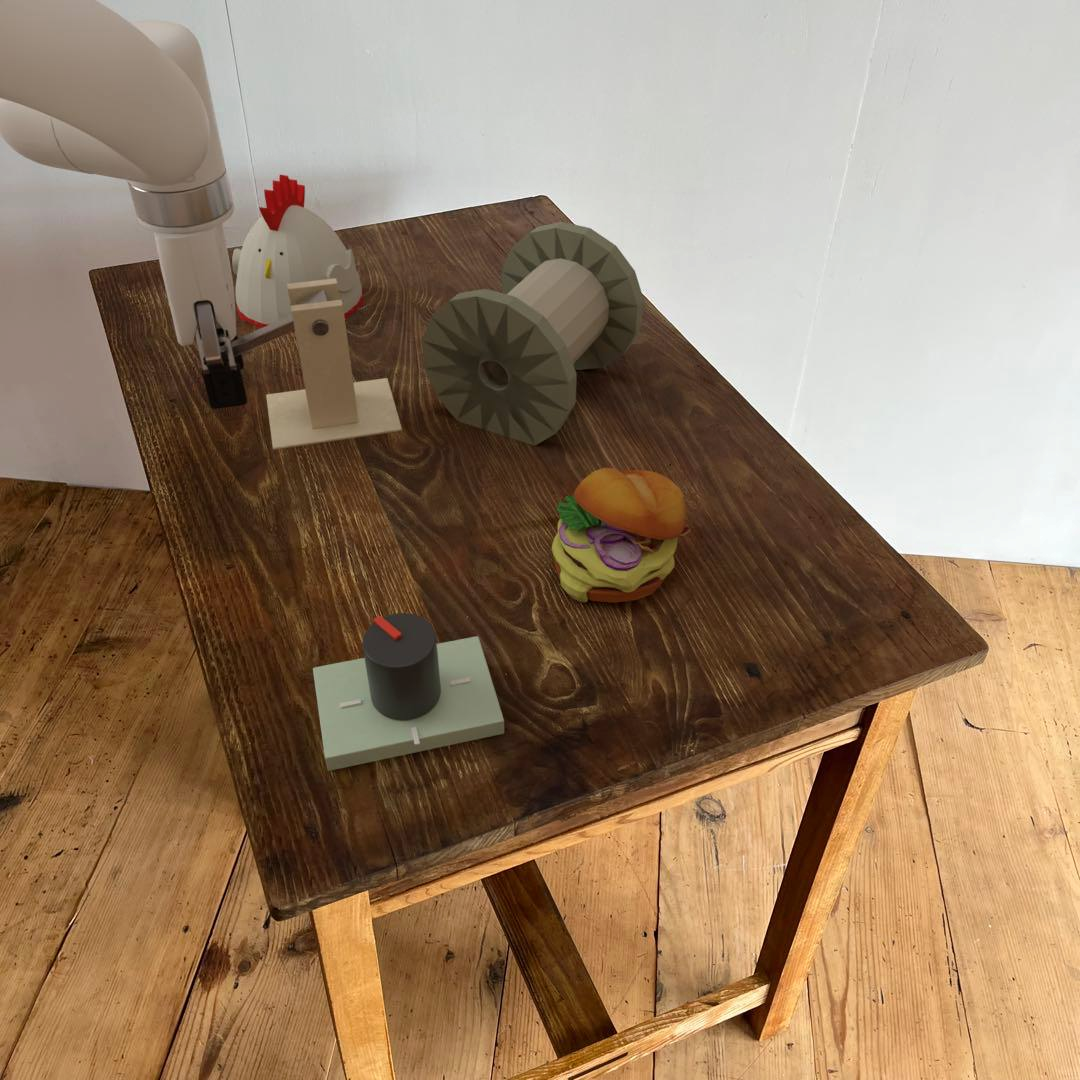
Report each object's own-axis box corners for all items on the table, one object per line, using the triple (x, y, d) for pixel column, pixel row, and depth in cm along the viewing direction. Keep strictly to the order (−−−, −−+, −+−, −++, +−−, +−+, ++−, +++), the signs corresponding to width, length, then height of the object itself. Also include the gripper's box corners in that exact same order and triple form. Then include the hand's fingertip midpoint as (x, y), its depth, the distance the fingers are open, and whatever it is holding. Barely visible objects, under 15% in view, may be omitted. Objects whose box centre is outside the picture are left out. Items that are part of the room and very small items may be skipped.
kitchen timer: (215, 328, 111) (184, 196, 101) (275, 271, 121) (252, 145, 111) (331, 348, 108) (311, 214, 98) (383, 288, 118) (369, 161, 108)
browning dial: (455, 693, 70) (451, 636, 66) (400, 732, 67) (393, 676, 63) (410, 655, 72) (404, 598, 68) (356, 692, 70) (346, 635, 66)
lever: (215, 385, 90) (201, 364, 88) (214, 356, 93) (200, 335, 92) (340, 330, 89) (328, 308, 88) (334, 303, 93) (322, 281, 91)
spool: (509, 341, 110) (507, 208, 100) (637, 378, 105) (648, 241, 95) (428, 420, 99) (417, 280, 89) (566, 465, 94) (570, 321, 84)
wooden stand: (274, 459, 94) (247, 328, 85) (268, 405, 100) (241, 278, 91) (403, 439, 96) (390, 310, 87) (388, 388, 103) (374, 262, 94)
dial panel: (331, 791, 67) (325, 763, 65) (317, 689, 74) (311, 660, 72) (506, 753, 70) (506, 725, 68) (478, 657, 76) (477, 629, 74)
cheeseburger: (518, 571, 83) (538, 463, 78) (600, 534, 90) (624, 434, 85) (611, 633, 78) (639, 523, 73) (691, 589, 85) (722, 486, 80)
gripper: (135, 159, 86) (184, 344, 98) (130, 249, 74) (187, 448, 86) (226, 150, 87) (263, 334, 100) (235, 237, 75) (276, 435, 88)
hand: (227, 385), depth 93 cm, fingers closed on lever, 5 cm apart
